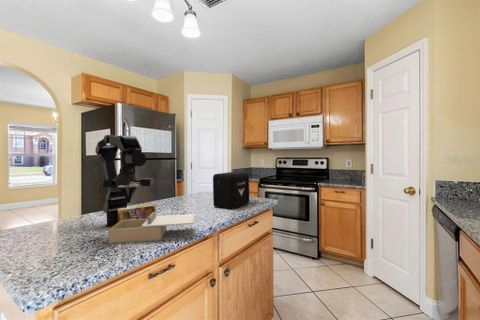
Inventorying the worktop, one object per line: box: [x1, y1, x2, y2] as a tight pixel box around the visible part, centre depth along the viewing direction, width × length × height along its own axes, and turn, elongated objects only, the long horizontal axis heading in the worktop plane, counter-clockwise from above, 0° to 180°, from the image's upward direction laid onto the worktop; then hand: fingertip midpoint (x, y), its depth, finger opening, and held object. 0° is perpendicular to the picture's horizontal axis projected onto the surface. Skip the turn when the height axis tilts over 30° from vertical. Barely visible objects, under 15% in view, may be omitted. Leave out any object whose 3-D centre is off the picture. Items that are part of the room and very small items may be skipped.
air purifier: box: [212, 171, 250, 210], centre depth 144 cm, size 20×15×20 cm
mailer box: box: [107, 219, 168, 245], centre depth 91 cm, size 18×13×5 cm
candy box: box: [118, 203, 156, 222], centre depth 104 cm, size 9×4×15 cm
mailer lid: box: [141, 211, 196, 227], centre depth 93 cm, size 19×14×3 cm
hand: (129, 203), depth 97 cm, fingers closed
